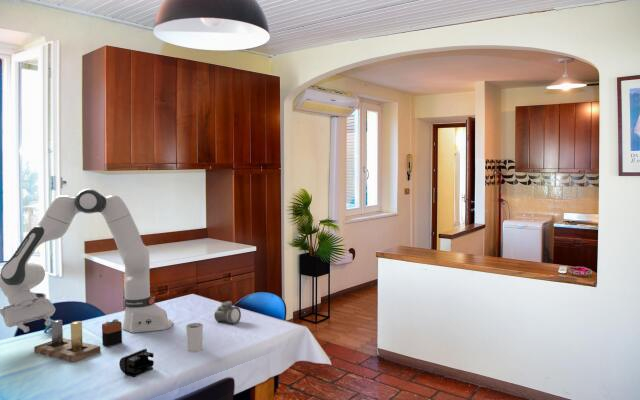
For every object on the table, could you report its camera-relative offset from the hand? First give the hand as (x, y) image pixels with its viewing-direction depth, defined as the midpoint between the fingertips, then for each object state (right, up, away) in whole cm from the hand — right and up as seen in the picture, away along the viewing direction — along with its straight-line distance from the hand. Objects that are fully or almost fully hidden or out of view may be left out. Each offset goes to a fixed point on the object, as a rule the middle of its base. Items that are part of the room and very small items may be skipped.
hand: (38, 327), depth 208 cm
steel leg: (+11, -8, -5) cm, 14 cm away
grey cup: (+67, -8, -5) cm, 68 cm away
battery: (+30, -8, +2) cm, 31 cm away
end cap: (+52, -9, -27) cm, 59 cm away
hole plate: (+16, -8, -8) cm, 20 cm away
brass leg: (+22, -8, -10) cm, 25 cm away
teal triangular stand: (-5, -7, +21) cm, 22 cm away
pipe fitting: (+73, -6, +32) cm, 80 cm away
